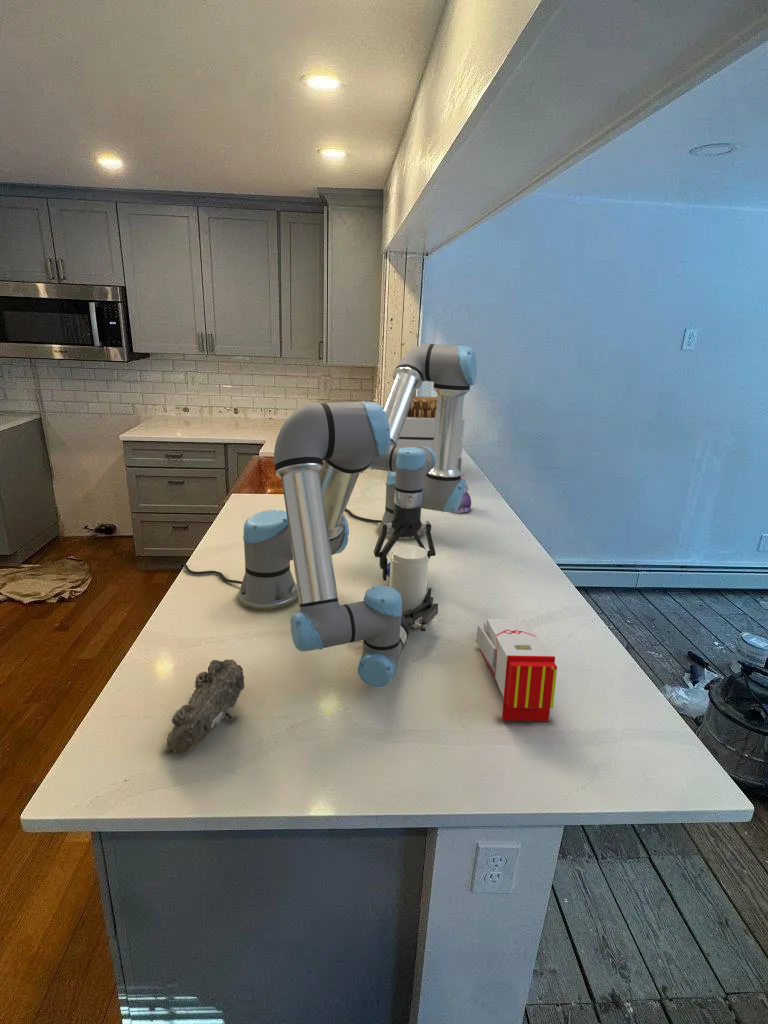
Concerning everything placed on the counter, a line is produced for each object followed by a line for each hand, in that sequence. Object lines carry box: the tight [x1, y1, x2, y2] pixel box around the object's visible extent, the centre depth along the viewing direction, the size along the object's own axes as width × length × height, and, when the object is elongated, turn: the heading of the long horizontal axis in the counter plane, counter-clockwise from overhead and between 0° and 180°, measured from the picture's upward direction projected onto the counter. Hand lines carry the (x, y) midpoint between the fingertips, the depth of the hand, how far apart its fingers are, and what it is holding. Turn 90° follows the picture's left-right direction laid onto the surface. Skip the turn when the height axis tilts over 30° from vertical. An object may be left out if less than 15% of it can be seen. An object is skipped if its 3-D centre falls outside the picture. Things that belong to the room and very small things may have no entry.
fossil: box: [166, 658, 245, 754], centre depth 106 cm, size 22×10×15 cm
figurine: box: [454, 472, 472, 514], centre depth 224 cm, size 9×10×15 cm
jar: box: [388, 544, 430, 629], centre depth 142 cm, size 9×9×19 cm
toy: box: [475, 618, 558, 722], centre depth 122 cm, size 12×13×30 cm
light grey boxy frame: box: [396, 395, 465, 472], centre depth 268 cm, size 34×33×41 cm
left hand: (410, 590), depth 147 cm, fingers closed on jar, 9 cm apart
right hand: (403, 578), depth 162 cm, fingers closed on lid, 10 cm apart
